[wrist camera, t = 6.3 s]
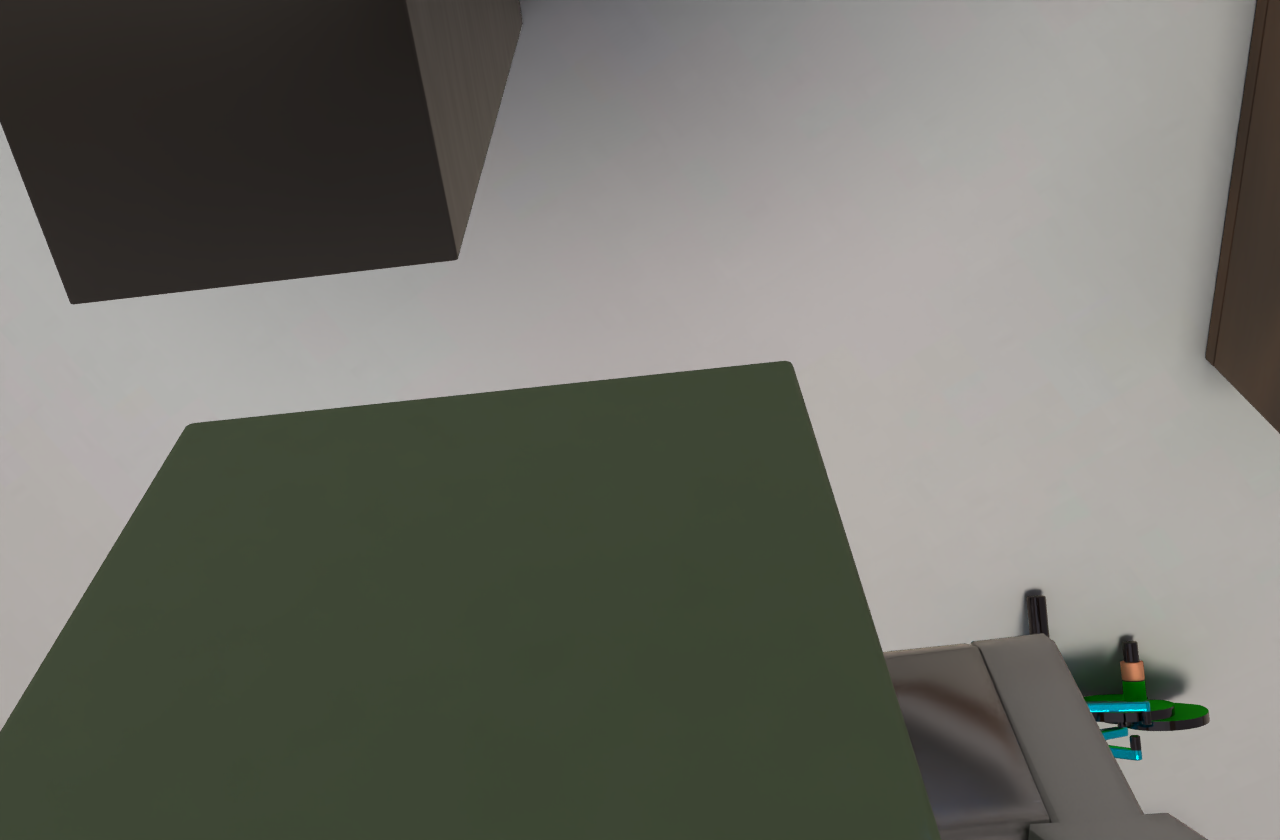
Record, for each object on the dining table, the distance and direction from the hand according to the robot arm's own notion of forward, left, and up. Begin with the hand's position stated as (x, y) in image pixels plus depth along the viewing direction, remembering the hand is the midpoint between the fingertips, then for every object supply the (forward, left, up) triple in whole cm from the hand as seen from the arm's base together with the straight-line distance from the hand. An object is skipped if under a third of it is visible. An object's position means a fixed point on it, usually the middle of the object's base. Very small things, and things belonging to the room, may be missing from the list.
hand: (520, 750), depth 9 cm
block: (0, 0, -1) cm, 1 cm away
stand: (-2, -6, -33) cm, 34 cm away
